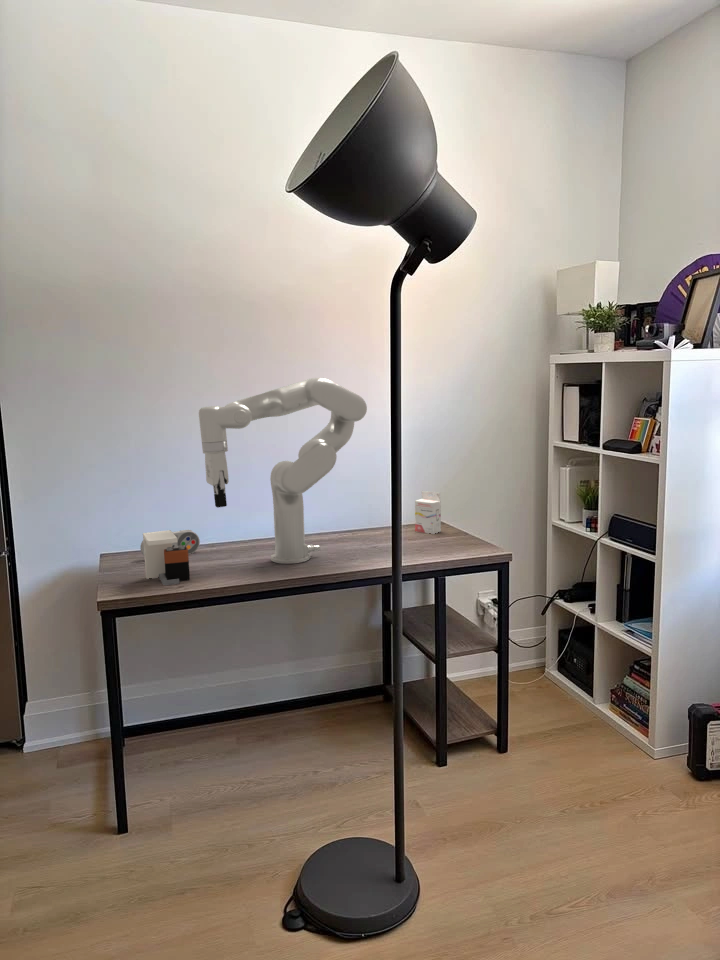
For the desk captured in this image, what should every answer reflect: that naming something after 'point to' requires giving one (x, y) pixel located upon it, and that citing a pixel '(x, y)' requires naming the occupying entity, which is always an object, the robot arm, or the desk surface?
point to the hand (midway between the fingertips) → (221, 506)
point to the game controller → (183, 541)
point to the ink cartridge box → (428, 513)
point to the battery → (177, 563)
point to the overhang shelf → (157, 554)
